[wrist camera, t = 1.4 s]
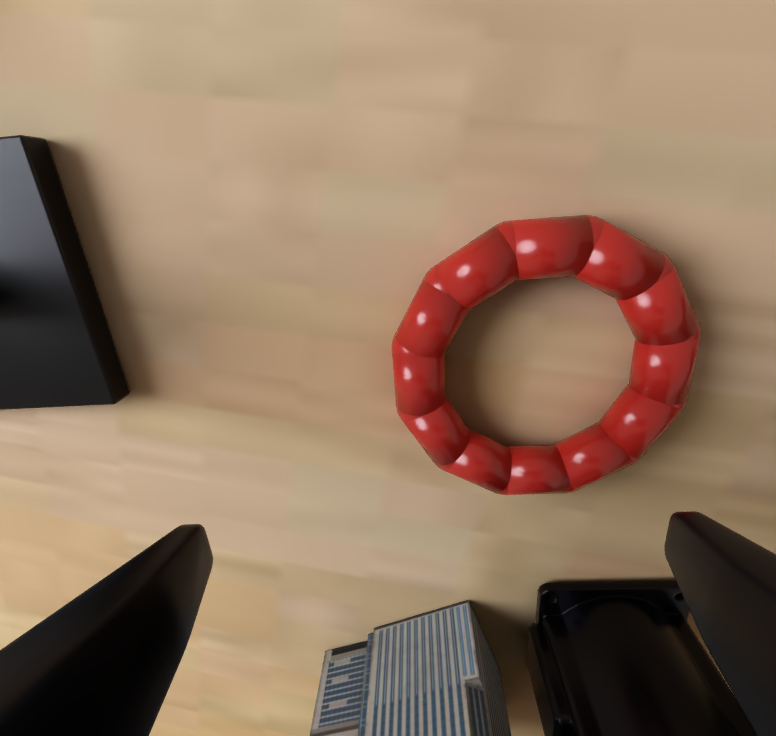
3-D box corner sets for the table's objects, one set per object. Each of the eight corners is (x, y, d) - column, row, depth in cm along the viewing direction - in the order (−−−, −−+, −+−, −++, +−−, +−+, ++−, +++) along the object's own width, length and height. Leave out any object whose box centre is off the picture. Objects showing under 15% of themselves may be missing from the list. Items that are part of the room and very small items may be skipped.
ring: (702, 203, 14) (743, 206, 12) (653, 470, 17) (679, 500, 16) (384, 227, 14) (381, 233, 13) (403, 479, 18) (402, 507, 17)
